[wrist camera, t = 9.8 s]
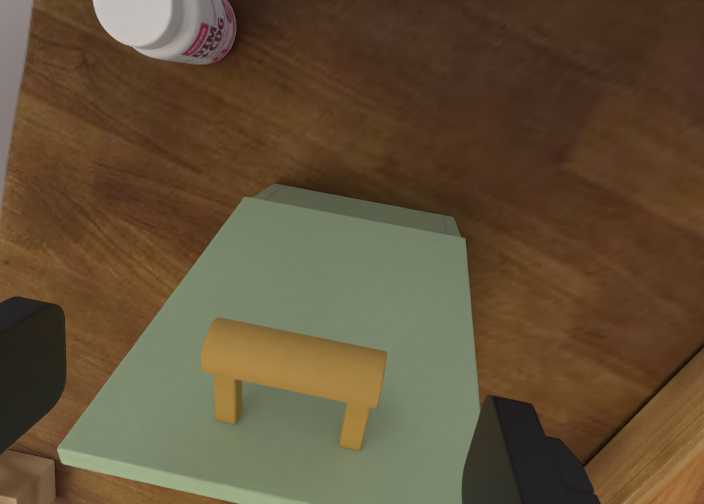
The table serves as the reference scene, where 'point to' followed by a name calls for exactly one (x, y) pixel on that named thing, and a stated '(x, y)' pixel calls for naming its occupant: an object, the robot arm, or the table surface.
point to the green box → (360, 209)
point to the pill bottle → (171, 27)
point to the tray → (658, 448)
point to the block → (26, 479)
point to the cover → (299, 368)
